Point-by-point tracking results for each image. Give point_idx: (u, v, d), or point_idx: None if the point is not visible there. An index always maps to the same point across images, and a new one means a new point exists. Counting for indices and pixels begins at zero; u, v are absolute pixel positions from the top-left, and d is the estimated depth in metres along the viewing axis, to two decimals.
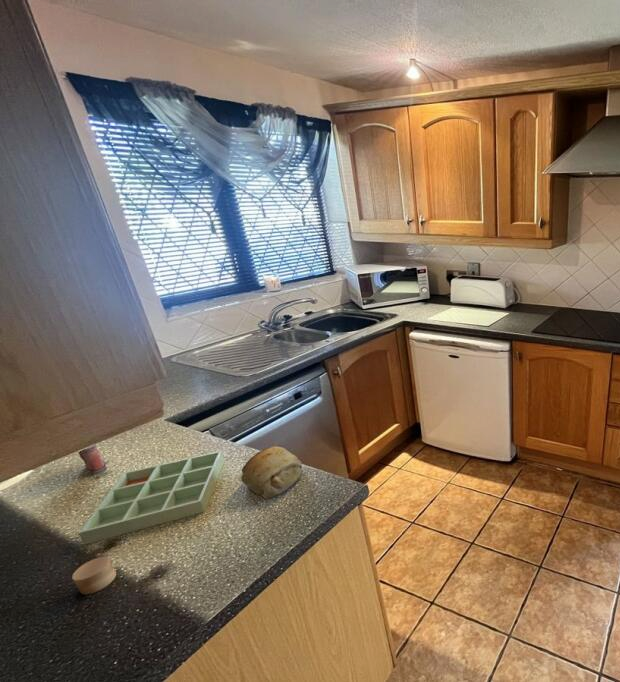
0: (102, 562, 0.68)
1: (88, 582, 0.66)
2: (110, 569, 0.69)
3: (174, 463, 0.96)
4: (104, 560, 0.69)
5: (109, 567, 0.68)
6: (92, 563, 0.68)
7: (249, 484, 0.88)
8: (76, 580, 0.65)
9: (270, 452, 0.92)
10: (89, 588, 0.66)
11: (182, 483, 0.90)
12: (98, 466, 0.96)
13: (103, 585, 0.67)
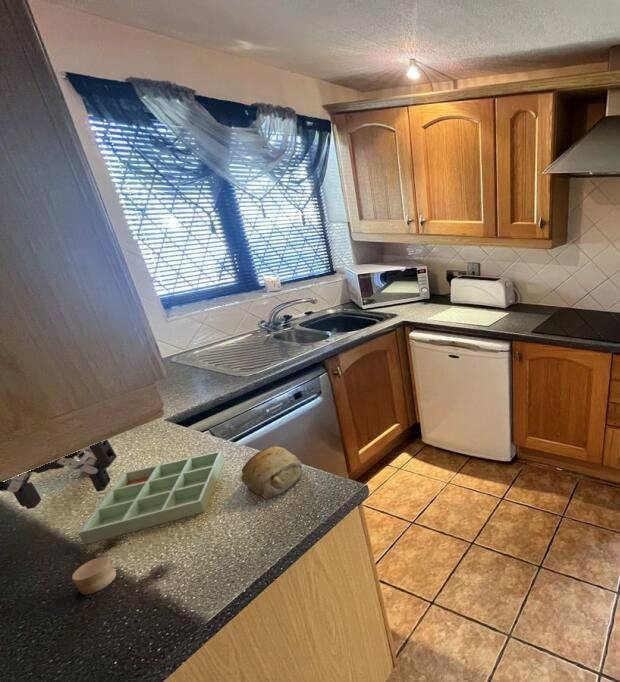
0: (102, 562, 0.68)
1: (88, 582, 0.66)
2: (110, 569, 0.69)
3: (174, 463, 0.96)
4: (104, 560, 0.69)
5: (109, 567, 0.68)
6: (92, 563, 0.68)
7: (249, 484, 0.88)
8: (76, 580, 0.65)
9: (270, 452, 0.92)
10: (89, 588, 0.66)
11: (182, 483, 0.90)
12: None
13: (103, 585, 0.67)
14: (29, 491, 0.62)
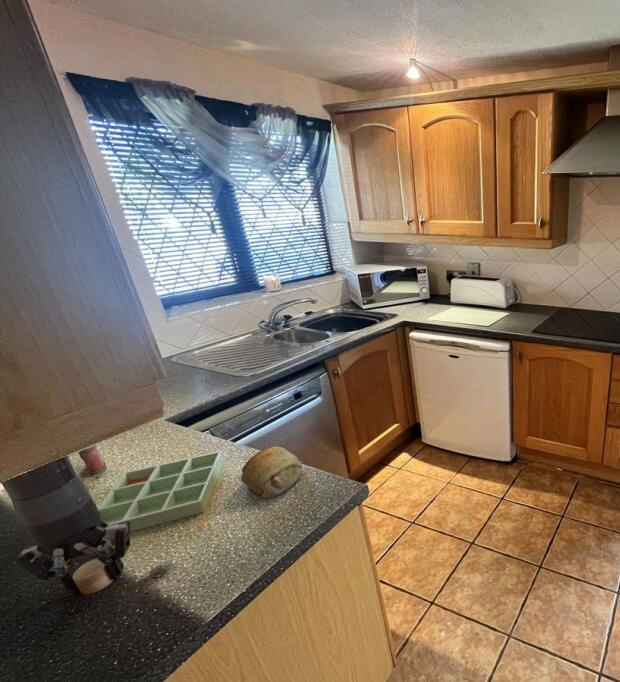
0: None
1: (88, 582, 0.66)
2: None
3: (174, 463, 0.96)
4: None
5: None
6: (92, 563, 0.68)
7: (249, 484, 0.88)
8: (76, 580, 0.65)
9: (270, 452, 0.92)
10: (89, 588, 0.66)
11: (182, 483, 0.90)
12: (98, 466, 0.96)
13: (103, 585, 0.67)
14: None
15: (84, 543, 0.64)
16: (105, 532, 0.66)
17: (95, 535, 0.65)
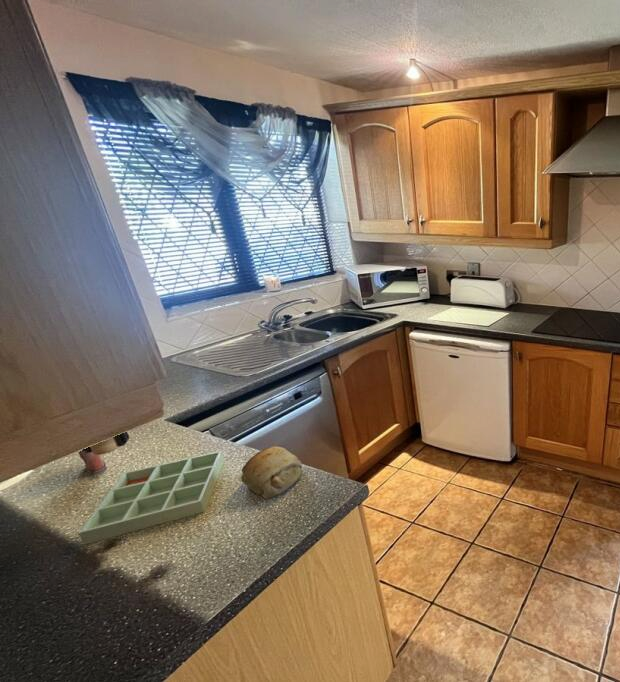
0: None
1: (99, 444, 0.79)
2: None
3: (174, 463, 0.96)
4: None
5: None
6: None
7: (249, 484, 0.88)
8: None
9: (270, 452, 0.92)
10: (100, 449, 0.79)
11: (182, 483, 0.90)
12: (98, 466, 0.96)
13: (112, 449, 0.80)
14: None
15: None
16: None
17: None
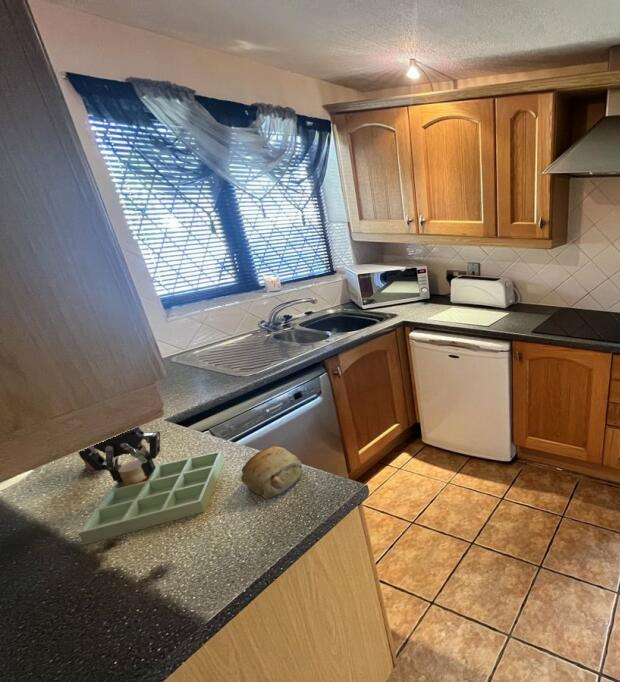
0: (140, 462, 0.91)
1: (130, 475, 0.88)
2: None
3: (174, 463, 0.96)
4: None
5: None
6: (132, 463, 0.90)
7: (249, 484, 0.88)
8: (121, 472, 0.87)
9: (270, 452, 0.92)
10: (131, 479, 0.88)
11: (182, 483, 0.90)
12: None
13: (141, 479, 0.90)
14: None
15: (127, 443, 0.86)
16: (142, 437, 0.88)
17: (135, 438, 0.87)
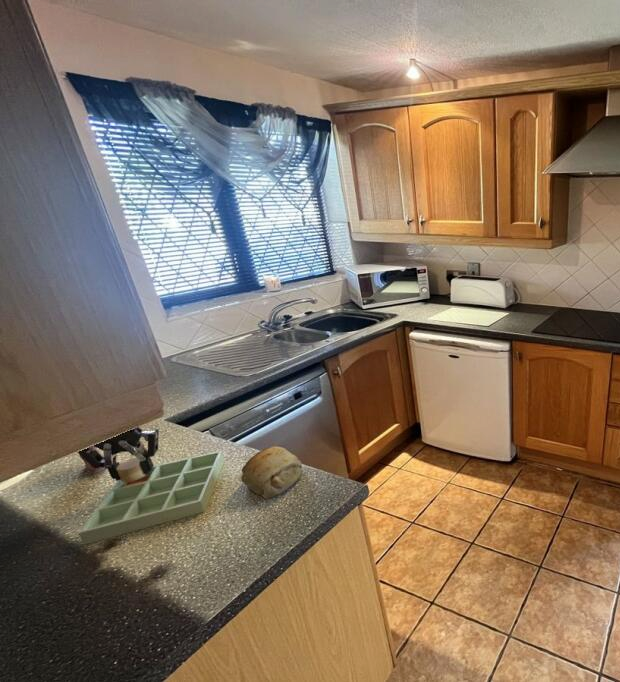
0: (138, 460, 0.90)
1: (128, 473, 0.88)
2: None
3: (174, 463, 0.96)
4: None
5: None
6: (130, 461, 0.90)
7: (249, 484, 0.88)
8: (119, 470, 0.87)
9: (270, 452, 0.92)
10: (128, 477, 0.88)
11: (182, 483, 0.90)
12: None
13: (139, 477, 0.89)
14: None
15: (126, 441, 0.86)
16: (141, 435, 0.88)
17: (133, 436, 0.87)
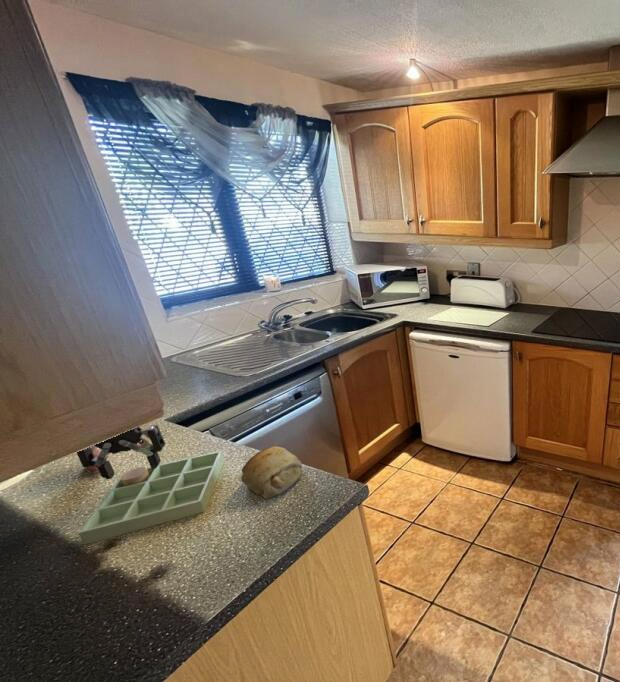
0: (142, 469, 0.91)
1: (132, 482, 0.89)
2: (147, 475, 0.91)
3: (174, 463, 0.96)
4: (143, 468, 0.91)
5: (147, 473, 0.91)
6: (134, 470, 0.91)
7: (249, 484, 0.88)
8: (124, 480, 0.88)
9: (270, 452, 0.92)
10: None
11: (182, 483, 0.90)
12: None
13: None
14: (108, 467, 0.88)
15: (126, 441, 0.86)
16: (141, 435, 0.88)
17: (134, 436, 0.87)
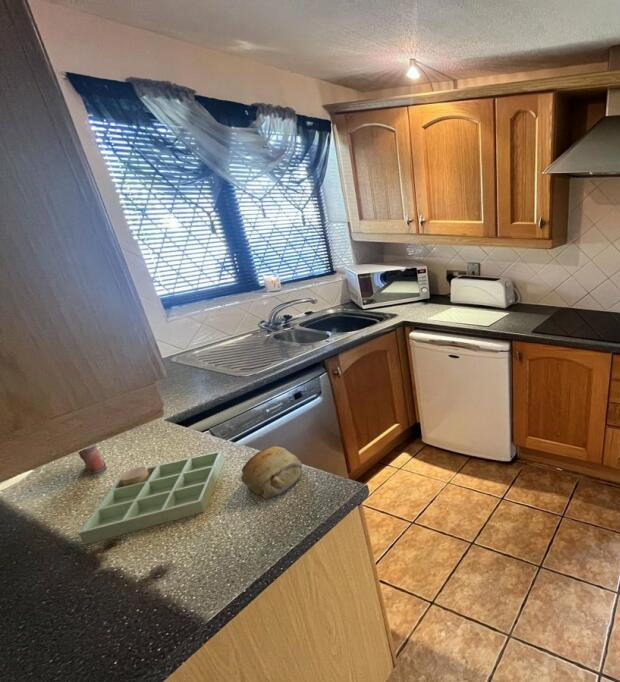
0: (142, 469, 0.91)
1: (132, 482, 0.89)
2: (147, 475, 0.91)
3: (174, 463, 0.96)
4: (143, 468, 0.91)
5: (147, 473, 0.91)
6: (134, 470, 0.91)
7: (249, 484, 0.88)
8: (124, 480, 0.88)
9: (270, 452, 0.92)
10: None
11: (182, 483, 0.90)
12: (98, 466, 0.96)
13: None
14: None
15: None
16: None
17: None
